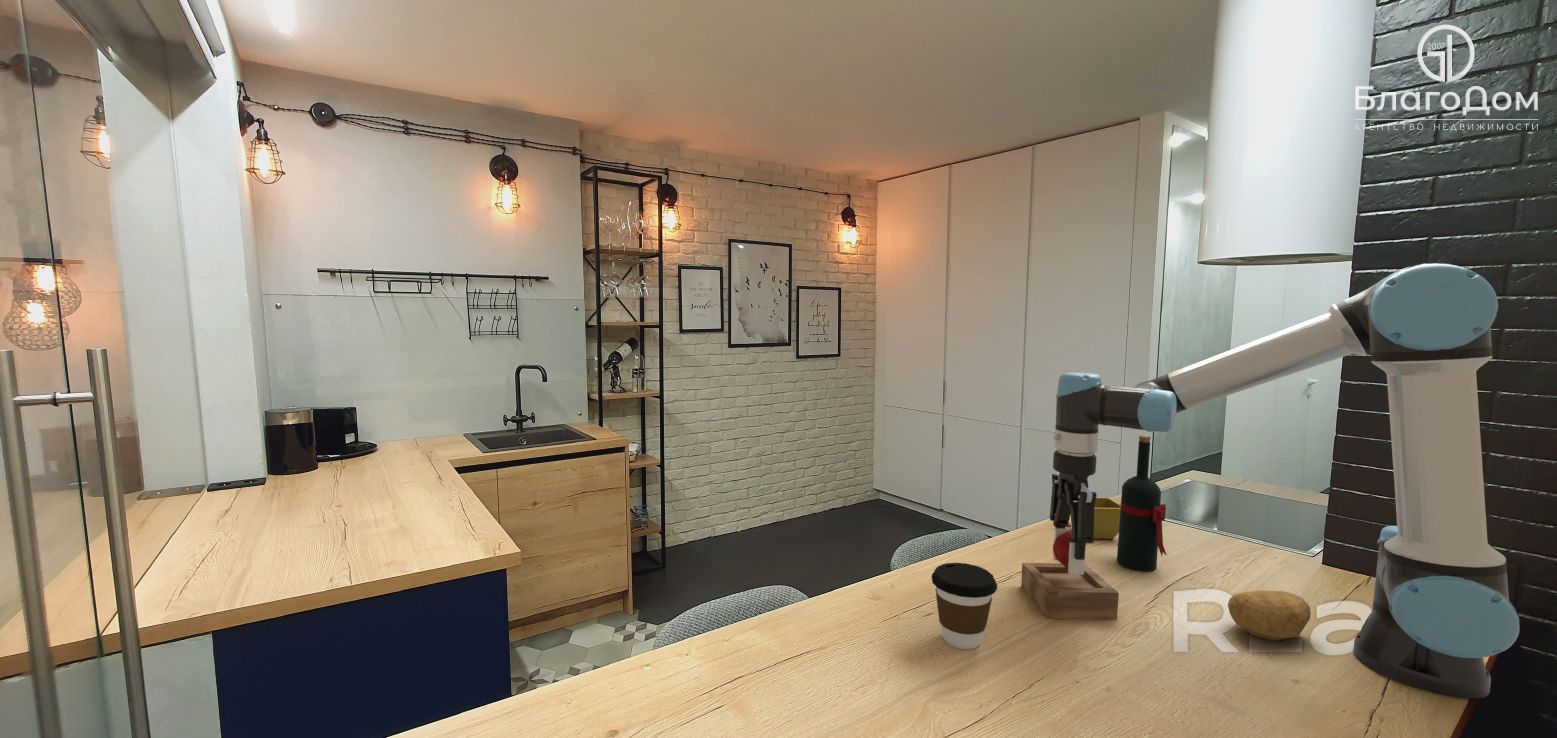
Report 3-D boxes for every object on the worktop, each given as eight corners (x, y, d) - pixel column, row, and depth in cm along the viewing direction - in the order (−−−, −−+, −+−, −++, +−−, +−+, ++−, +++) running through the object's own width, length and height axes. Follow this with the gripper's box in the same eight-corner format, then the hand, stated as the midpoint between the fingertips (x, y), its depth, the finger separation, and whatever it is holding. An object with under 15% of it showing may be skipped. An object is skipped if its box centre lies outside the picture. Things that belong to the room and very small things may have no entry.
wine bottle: (1151, 578, 130) (1160, 443, 127) (1108, 560, 139) (1116, 434, 137) (1174, 572, 133) (1184, 440, 131) (1131, 555, 143) (1139, 431, 140)
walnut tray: (1117, 619, 112) (1118, 592, 112) (1047, 617, 113) (1048, 591, 112) (1083, 587, 125) (1085, 563, 125) (1021, 586, 126) (1022, 562, 125)
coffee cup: (916, 631, 108) (918, 566, 106) (964, 619, 112) (967, 557, 111) (957, 663, 98) (960, 593, 96) (1008, 649, 102) (1011, 581, 101)
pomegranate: (1082, 576, 114) (1085, 536, 114) (1049, 569, 117) (1052, 529, 117) (1085, 566, 119) (1087, 527, 119) (1054, 559, 122) (1056, 521, 122)
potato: (1329, 646, 104) (1333, 602, 103) (1262, 654, 101) (1266, 609, 101) (1273, 618, 114) (1277, 577, 113) (1211, 624, 111) (1214, 583, 110)
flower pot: (1125, 542, 151) (1127, 508, 150) (1090, 542, 151) (1092, 507, 150) (1106, 530, 160) (1108, 497, 159) (1073, 529, 160) (1075, 496, 159)
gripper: (1035, 441, 126) (1030, 547, 128) (1078, 463, 107) (1070, 587, 109) (1071, 441, 126) (1065, 548, 128) (1120, 464, 107) (1112, 588, 109)
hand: (1068, 566), depth 118 cm, fingers closed on pomegranate, 6 cm apart
